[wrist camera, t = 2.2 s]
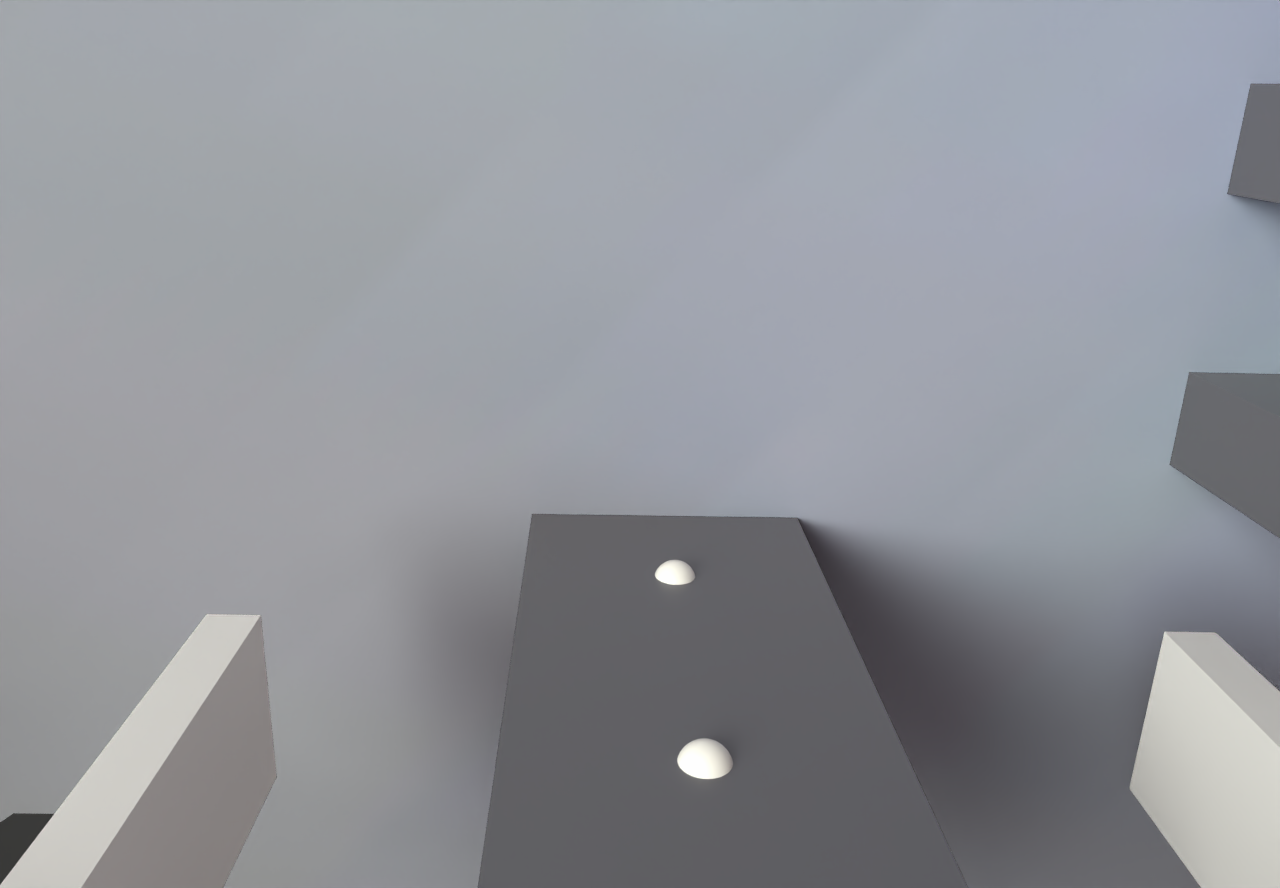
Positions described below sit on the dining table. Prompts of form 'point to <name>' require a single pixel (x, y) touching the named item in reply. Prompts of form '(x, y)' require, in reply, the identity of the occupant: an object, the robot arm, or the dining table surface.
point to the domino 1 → (696, 720)
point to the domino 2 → (1233, 441)
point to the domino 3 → (1259, 146)
